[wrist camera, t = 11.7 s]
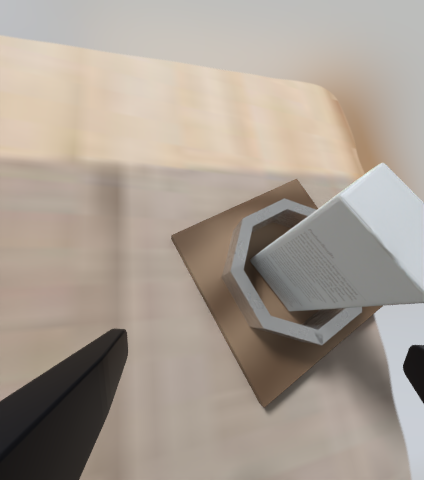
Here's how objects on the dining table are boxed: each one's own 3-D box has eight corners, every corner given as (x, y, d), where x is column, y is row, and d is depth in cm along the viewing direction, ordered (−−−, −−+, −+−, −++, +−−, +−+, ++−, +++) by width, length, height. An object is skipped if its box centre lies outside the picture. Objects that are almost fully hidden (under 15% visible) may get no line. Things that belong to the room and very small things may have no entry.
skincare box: (316, 284, 22) (476, 251, 10) (288, 312, 20) (438, 308, 9) (277, 236, 22) (385, 157, 11) (247, 259, 21) (337, 195, 10)
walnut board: (376, 304, 23) (385, 303, 22) (259, 402, 18) (264, 407, 17) (292, 183, 26) (296, 178, 25) (171, 238, 21) (171, 235, 20)
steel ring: (359, 295, 22) (386, 291, 19) (270, 364, 18) (288, 373, 16) (293, 200, 24) (310, 185, 22) (203, 245, 21) (208, 234, 18)
